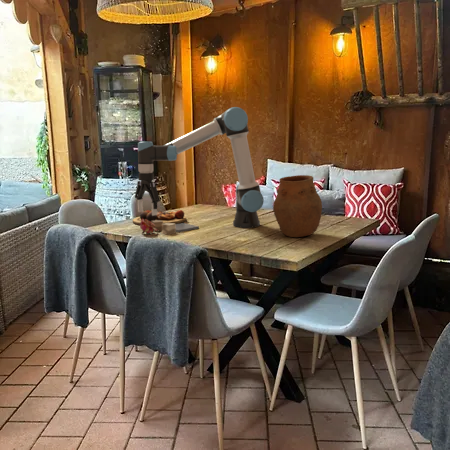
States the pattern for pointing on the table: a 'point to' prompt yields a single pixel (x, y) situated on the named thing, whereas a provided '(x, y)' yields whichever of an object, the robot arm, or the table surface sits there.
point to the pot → (297, 206)
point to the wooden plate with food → (161, 217)
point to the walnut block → (158, 225)
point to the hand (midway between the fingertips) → (147, 213)
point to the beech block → (168, 228)
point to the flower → (147, 226)
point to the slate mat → (185, 227)
